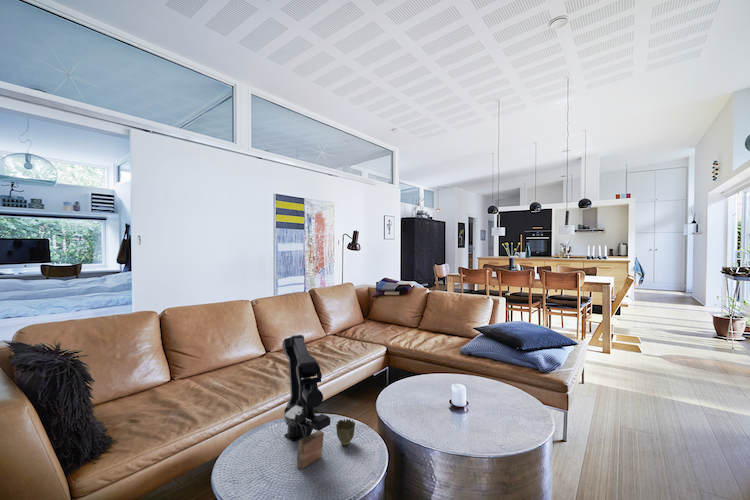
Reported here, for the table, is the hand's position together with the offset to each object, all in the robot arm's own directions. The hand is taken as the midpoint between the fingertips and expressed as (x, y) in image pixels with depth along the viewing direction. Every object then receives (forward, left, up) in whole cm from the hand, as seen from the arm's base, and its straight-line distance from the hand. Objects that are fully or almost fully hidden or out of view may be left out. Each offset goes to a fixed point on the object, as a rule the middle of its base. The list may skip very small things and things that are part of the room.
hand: (306, 439), depth 118 cm
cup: (+4, +16, -7) cm, 18 cm away
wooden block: (+1, 0, -7) cm, 7 cm away
